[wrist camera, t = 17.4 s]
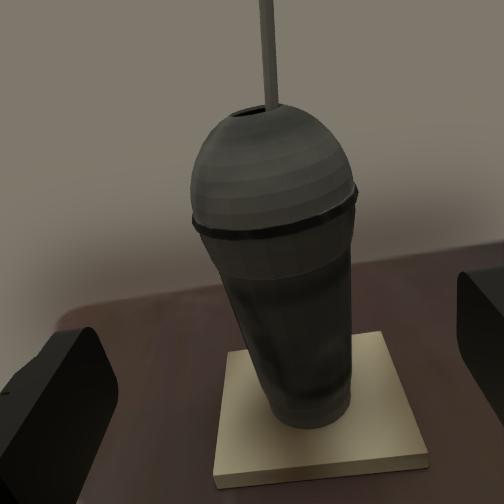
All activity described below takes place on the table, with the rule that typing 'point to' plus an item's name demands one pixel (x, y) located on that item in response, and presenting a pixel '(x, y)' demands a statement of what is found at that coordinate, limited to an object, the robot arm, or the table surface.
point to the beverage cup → (283, 245)
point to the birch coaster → (320, 439)
